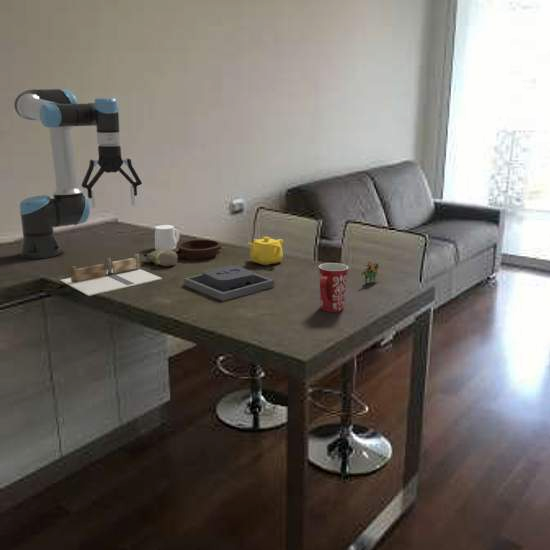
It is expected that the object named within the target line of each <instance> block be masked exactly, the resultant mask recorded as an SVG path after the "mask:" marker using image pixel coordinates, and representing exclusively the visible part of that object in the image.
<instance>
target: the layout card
mask: <svg viewBox="0 0 550 550" xmlns="http://www.w3.org/2000/svg"><path fill="white" fill-rule="evenodd" d="M161 280H163V278H162V277H160V276H158V275H156V274H153V273H151V272H148V271H146V270H143V269H141V268H140V269H133V270H128V271H123V272H119V273H113V270H112V275H108V269H107V275H104V276H100V277H95V278H90V279H85V280H81V281H76V282H71V277H68V278H62V279H60V282H61V283H64V284H66V285H67V286H69V287H71V288H73V289H74V290H76V291H78V292H80V293H82V294H84V295H86V296H87V297H91V296H95V295H99V294H105V293H107V292H112V291H116V290H120V289H125V288H130V287H134V286H139V285H143V283H144V284H147V283H150V282H157V281H161Z"/></svg>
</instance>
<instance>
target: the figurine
mask: <svg viewBox="0 0 550 550" xmlns="http://www.w3.org/2000/svg"><path fill="white" fill-rule="evenodd" d="M369 263H370V264H369ZM366 267H367V268H364V271H361V273H360V276H361V275H362V276H364V280H365V284H369V285H372V284H371V282H372V281H373V282H374V281H376V277H377V275H379V272H378V269H380V266H379V263H378V262H374V263H373V264H372V262H371V261H367V265H366ZM368 278H369V282H368ZM371 280H372V281H371ZM367 282H368V283H367Z"/></svg>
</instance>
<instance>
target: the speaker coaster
mask: <svg viewBox="0 0 550 550" xmlns="http://www.w3.org/2000/svg"><path fill="white" fill-rule="evenodd" d="M183 286H185V287H188V288H190V289H192V290H194V291H197V292H199V293H202V294H204V295H207V296H209V297H212V298H214V299H216V300H219V301H221V302H225V301H228V300H233V299H236V298H239V297H243V296H246V295H250V294H254V293H257V292H262V291H264V290H269V289H272V288H274V287H275V279H272V278H269V277H265V276H262V275H259V274H257V273H254V284H253V285H249V286H246V287H242V288H238V289H234V290H230V291H227V292H221V291H218V290H216V289H213V288H211V287H208V286H206V285H203V273H201V274H197V275H192V276H189V277H184V278H183Z"/></svg>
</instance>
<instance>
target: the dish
mask: <svg viewBox="0 0 550 550" xmlns="http://www.w3.org/2000/svg"><path fill="white" fill-rule="evenodd" d="M176 245H177V246H176V248H178V250H177V251H174V252H175V253H176V254H177V259H178V258H179V259H180V258H181V259H182V258H184V259H188V260H205V259H207V260H208V259H211V258H213V257H215V256H216V255H217V254H218V253H219V251H220V250H222V243H221V242H220V241H216V240H212V239H211V240H210V239H190V240H185V241H181V242H179V243H177V244H176Z"/></svg>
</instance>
